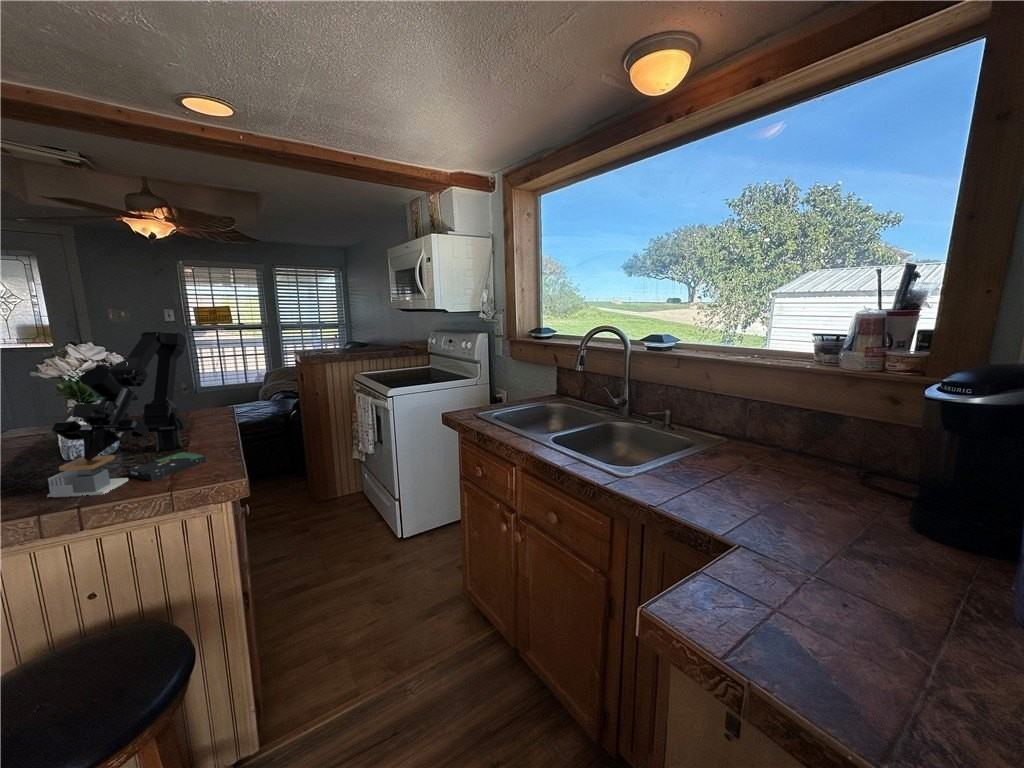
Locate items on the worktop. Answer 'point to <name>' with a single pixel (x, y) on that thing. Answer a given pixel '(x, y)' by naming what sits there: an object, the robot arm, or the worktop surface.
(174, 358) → the robot arm
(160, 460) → the disk drive
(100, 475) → the heat sink board
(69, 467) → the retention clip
